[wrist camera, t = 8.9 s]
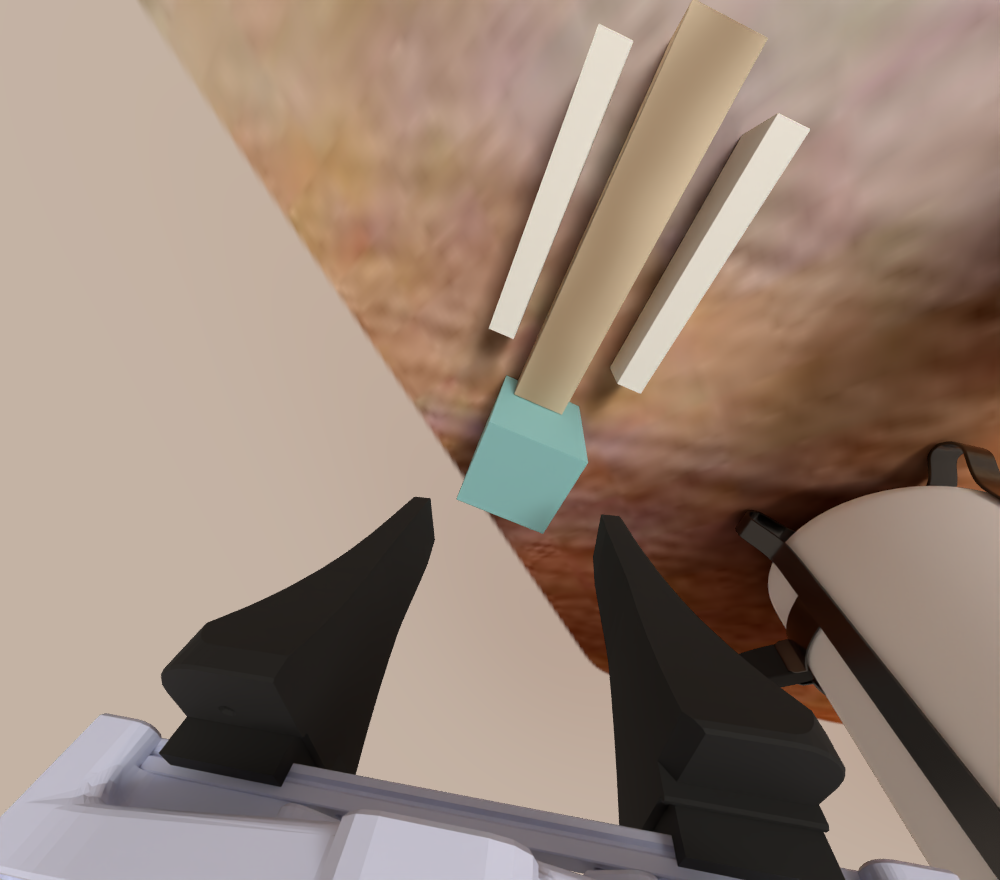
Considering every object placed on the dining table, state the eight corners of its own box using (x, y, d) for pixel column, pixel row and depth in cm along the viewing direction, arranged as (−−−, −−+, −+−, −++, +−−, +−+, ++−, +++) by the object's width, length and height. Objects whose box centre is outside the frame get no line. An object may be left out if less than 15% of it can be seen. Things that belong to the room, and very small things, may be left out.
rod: (731, 74, 13) (767, 38, 11) (561, 395, 20) (561, 414, 18) (669, 42, 13) (693, -2, 11) (518, 377, 20) (514, 394, 17)
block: (578, 406, 20) (587, 462, 15) (545, 465, 22) (542, 533, 17) (506, 375, 19) (489, 421, 14) (479, 438, 22) (456, 499, 16)
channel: (769, 148, 14) (810, 129, 11) (630, 376, 19) (640, 393, 16) (591, 60, 13) (598, 23, 11) (496, 318, 18) (488, 328, 16)
